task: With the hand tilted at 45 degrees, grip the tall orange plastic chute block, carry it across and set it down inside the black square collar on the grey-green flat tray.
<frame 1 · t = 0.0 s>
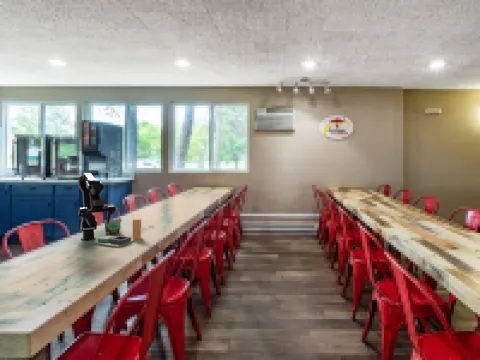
hand: (99, 225, 173), 15 cm above the table, tool tilted 35°, fingers open, 9 cm apart
food container: (114, 234, 216), on the table
chute block: (137, 238, 205), on the table
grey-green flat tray: (112, 242, 193), on the table
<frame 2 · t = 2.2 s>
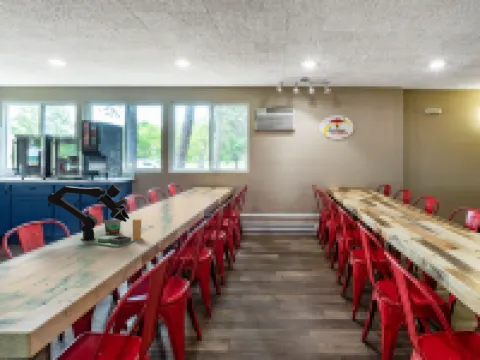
hand: (127, 219, 203), 12 cm above the table, tool tilted 45°, fingers open, 9 cm apart
nothing on the table moved.
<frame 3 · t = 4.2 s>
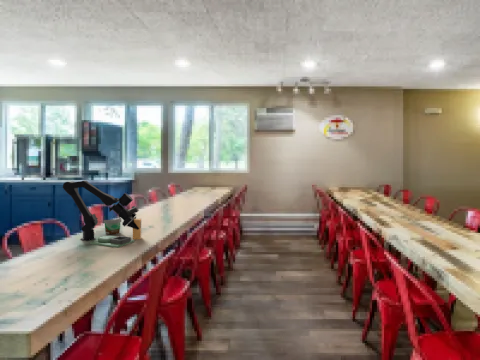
hand: (139, 228, 204), 7 cm above the table, tool tilted 45°, fingers closed on chute block, 5 cm apart
chute block: (137, 238, 205), on the table, touching gripper
everything else where it was.
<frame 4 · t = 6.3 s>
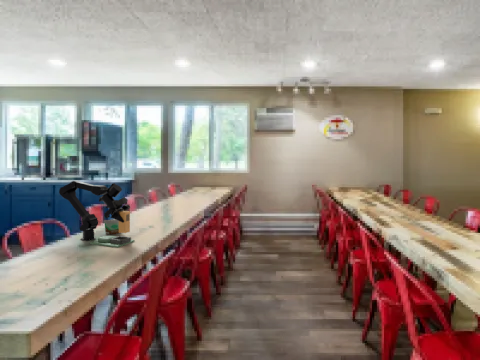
hand: (126, 221, 192), 13 cm above the table, tool tilted 45°, fingers closed on chute block, 5 cm apart
chute block: (124, 231, 193), point 7 cm above the table, touching gripper
everything else where it was.
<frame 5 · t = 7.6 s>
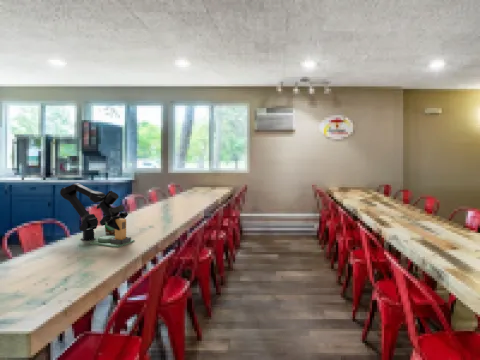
hand: (122, 229, 190), 9 cm above the table, tool tilted 45°, fingers closed on chute block, 5 cm apart
chute block: (120, 239, 191), point 2 cm above the table, touching gripper
everything else where it was.
when the fingers open (9 cm above the table, at t = 8.4 s): chute block drops 1 cm, resting on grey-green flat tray.
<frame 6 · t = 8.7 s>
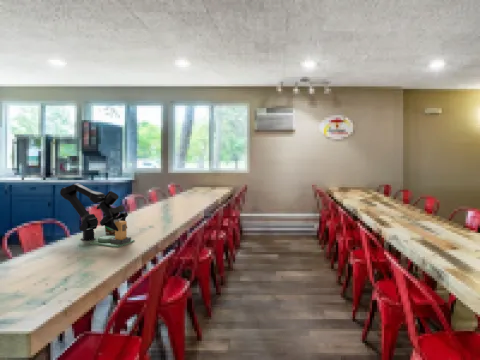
hand: (122, 229, 190), 9 cm above the table, tool tilted 45°, fingers open, 7 cm apart
chute block: (120, 242, 191), point 1 cm above the table, touching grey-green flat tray
everything else where it was.
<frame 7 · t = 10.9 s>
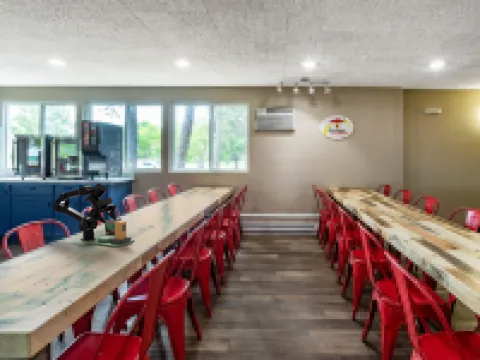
hand: (110, 221, 193), 13 cm above the table, tool tilted 45°, fingers open, 9 cm apart
nothing on the table moved.
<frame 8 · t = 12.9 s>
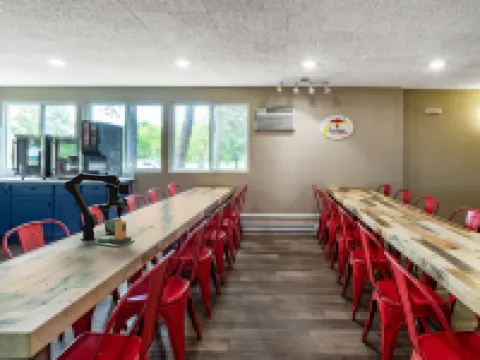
hand: (113, 219, 200), 13 cm above the table, tool pointing down, fingers open, 9 cm apart
nothing on the table moved.
at the end: chute block 0.0 cm from the target spot on the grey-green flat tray, point 1.0 cm above the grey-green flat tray's base; chute block tilted 0°; the gripper is holding nothing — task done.
